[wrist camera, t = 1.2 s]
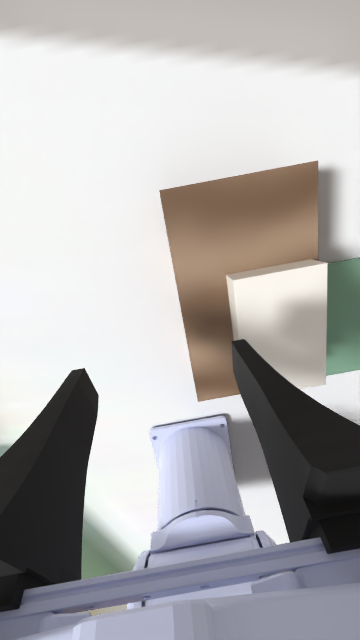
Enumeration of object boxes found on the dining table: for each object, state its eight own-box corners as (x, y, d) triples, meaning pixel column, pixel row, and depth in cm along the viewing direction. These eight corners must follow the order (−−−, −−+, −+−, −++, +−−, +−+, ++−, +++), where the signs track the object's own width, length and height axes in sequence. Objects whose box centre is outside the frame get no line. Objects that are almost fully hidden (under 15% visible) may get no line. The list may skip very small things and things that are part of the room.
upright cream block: (311, 370, 22) (325, 384, 20) (238, 383, 22) (245, 398, 20) (310, 259, 19) (327, 262, 17) (226, 274, 19) (232, 280, 17)
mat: (375, 364, 27) (377, 366, 26) (298, 379, 27) (299, 380, 26) (385, 252, 23) (388, 253, 23) (295, 269, 23) (296, 270, 23)
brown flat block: (295, 357, 26) (317, 379, 22) (193, 375, 26) (198, 401, 22) (289, 172, 20) (318, 160, 17) (160, 196, 20) (159, 190, 17)
